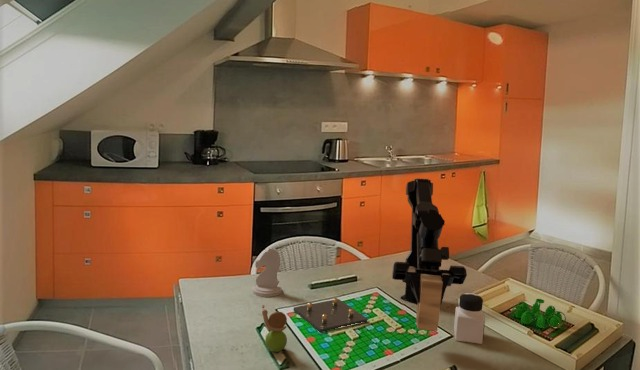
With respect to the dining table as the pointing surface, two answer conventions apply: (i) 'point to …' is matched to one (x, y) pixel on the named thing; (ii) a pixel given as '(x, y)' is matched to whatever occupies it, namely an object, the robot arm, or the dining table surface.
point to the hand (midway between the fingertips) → (429, 303)
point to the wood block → (429, 302)
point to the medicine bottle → (469, 319)
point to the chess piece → (268, 275)
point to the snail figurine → (275, 330)
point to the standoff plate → (329, 314)
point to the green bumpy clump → (550, 313)
